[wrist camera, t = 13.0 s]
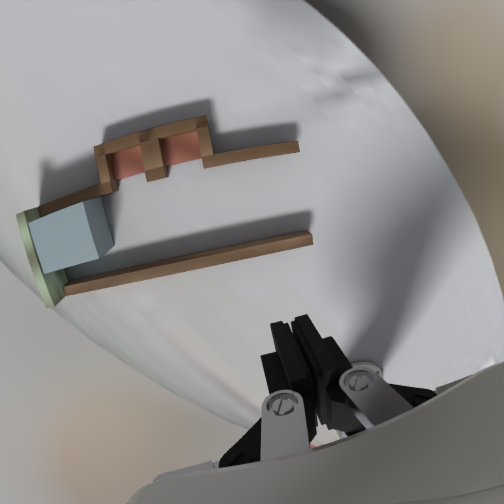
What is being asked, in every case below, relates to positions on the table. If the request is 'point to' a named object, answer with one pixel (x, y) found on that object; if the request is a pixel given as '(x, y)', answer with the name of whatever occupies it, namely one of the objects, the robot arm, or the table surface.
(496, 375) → the robot arm
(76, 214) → the slate block
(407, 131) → the table surface
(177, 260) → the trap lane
